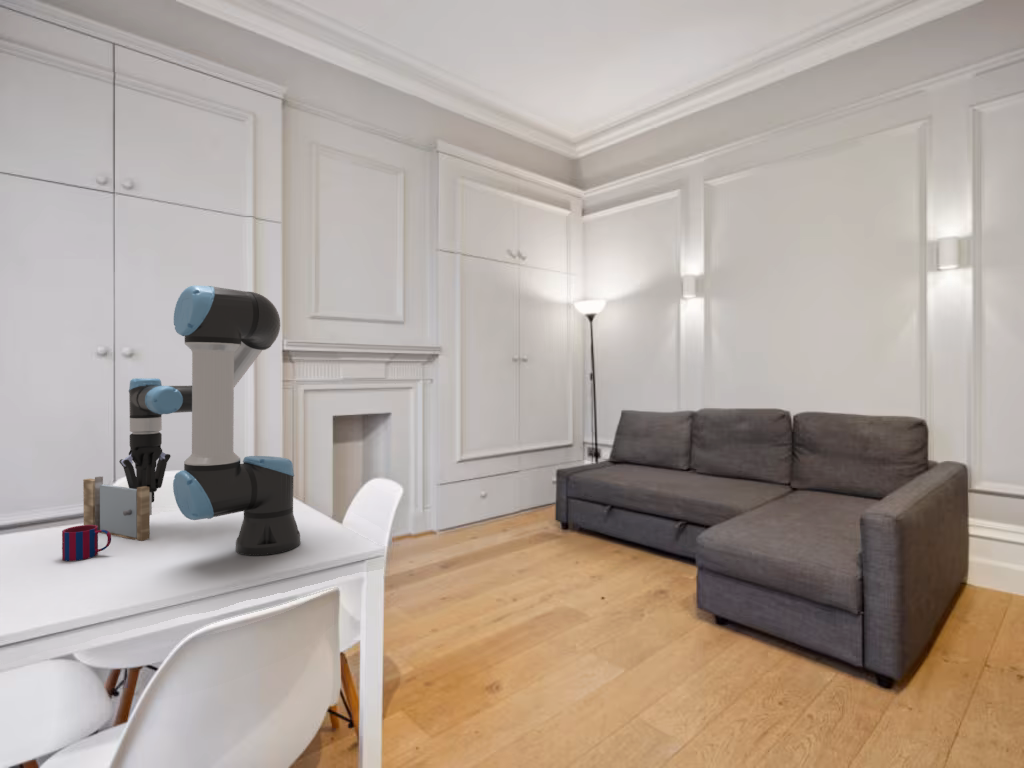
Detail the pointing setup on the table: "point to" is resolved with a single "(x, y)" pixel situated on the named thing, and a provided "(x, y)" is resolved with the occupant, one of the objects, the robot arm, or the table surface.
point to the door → (118, 510)
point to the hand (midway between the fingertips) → (146, 514)
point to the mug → (81, 542)
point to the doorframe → (93, 508)
